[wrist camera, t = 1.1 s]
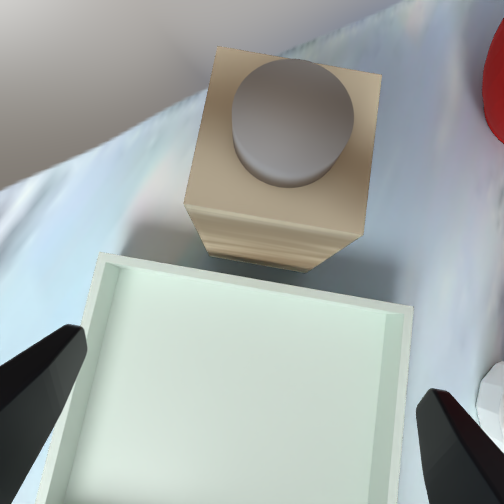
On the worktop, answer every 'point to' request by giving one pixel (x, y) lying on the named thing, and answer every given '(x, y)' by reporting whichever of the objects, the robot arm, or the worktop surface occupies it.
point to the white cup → (492, 404)
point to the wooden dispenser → (282, 159)
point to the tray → (230, 393)
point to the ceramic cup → (495, 84)
